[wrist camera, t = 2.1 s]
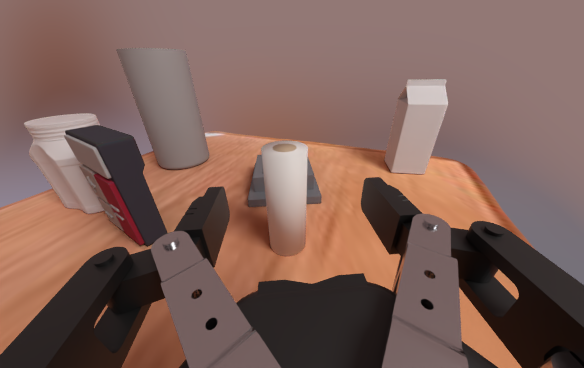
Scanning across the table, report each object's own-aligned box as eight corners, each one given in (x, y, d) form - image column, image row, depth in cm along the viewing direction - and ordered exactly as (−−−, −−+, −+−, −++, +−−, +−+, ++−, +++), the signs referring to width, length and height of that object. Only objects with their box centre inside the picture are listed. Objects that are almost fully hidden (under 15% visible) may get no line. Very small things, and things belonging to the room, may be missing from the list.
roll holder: (248, 207, 37) (245, 185, 34) (256, 168, 50) (254, 151, 48) (320, 203, 37) (322, 181, 35) (308, 166, 51) (309, 149, 49)
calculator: (109, 223, 33) (54, 131, 26) (138, 209, 36) (97, 124, 29) (142, 251, 28) (86, 146, 21) (172, 232, 31) (133, 135, 24)
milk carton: (424, 175, 46) (456, 80, 37) (390, 173, 47) (414, 80, 38) (413, 162, 52) (438, 78, 43) (383, 161, 53) (402, 78, 44)
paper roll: (269, 257, 27) (259, 157, 20) (270, 231, 31) (262, 141, 24) (307, 254, 27) (310, 155, 20) (303, 229, 31) (304, 139, 24)
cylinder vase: (172, 153, 61) (140, 52, 48) (215, 151, 61) (194, 52, 49) (149, 171, 50) (99, 48, 38) (201, 169, 50) (169, 47, 38)
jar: (149, 189, 43) (117, 114, 35) (98, 217, 35) (44, 128, 27) (111, 181, 46) (74, 111, 38) (56, 205, 38) (-2, 123, 31)
